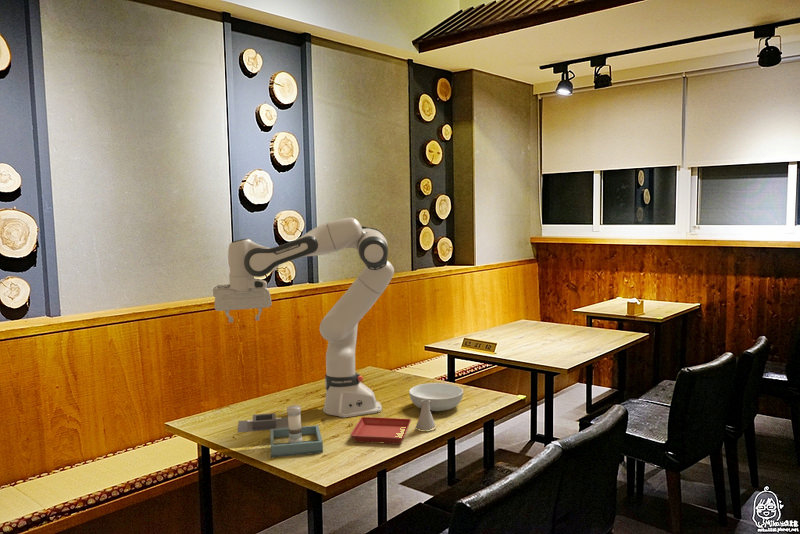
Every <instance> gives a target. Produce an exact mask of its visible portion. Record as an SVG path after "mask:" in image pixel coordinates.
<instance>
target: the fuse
mask: <svg viewBox="0 0 800 534" xmlns="http://www.w3.org/2000/svg"><path fill="white" fill-rule="evenodd" d="M286 412H287V413H286V414H287V417H288V425H289V436H288V443H289V444H293V443H302V441H303V435H301V427H302V417H301V416H302V415H301V414H302V406H301V405H296V404H295V405H289V406H287V408H286Z"/></svg>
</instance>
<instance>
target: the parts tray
mask: <svg viewBox="0 0 800 534" xmlns="http://www.w3.org/2000/svg"><path fill="white" fill-rule="evenodd" d="M269 431H270V432H269V433H270V434H269V435H270V458H271V459H272V457H273V458H283V457H292V456H293V457H294V456H301V455H302V456H303V455H314V454H323V453H324V449H323V448H324V444H323V439H322V434H321V430H320V426H319V425H317V424H315V425H305V426H304V425H303V426H301V435H302V436H305V435H306V436H307V435H315V437H316V439H315V440H313V439H312V440H306V441H305V440H302V443H293V444H289V442H282V443H279V442H278V443H275V438H284V437H289V428H280V429H270V430H269Z"/></svg>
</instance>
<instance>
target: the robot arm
mask: <svg viewBox="0 0 800 534" xmlns="http://www.w3.org/2000/svg"><path fill="white" fill-rule="evenodd" d="M345 249H356V250H357V252H358V256H359V258H360V259H361V261H362V263H363V264H364V265H365V266H364V267H363V270H362V271H361V272H360V273H359V275H358V276H357V277H356V279H354V281H353V282H352V284H351V285H349V287H348V289H347V290H346V291H345V293H344V294H343V295H342V296H341V297H340V298H339V299H338V300H337V301H336V302H335V304H334V305H332V308H331V309H329V311H328V312H327V313H326V314H325V316H324V317H323V318H322V320H321V321H320V324H319V332H320V335H321V338H323V339H324V340H326V341H328V342H327V343H328V344H327V349H326V353H325V367H326V373H325V375H324V376H325V378H324V386H325V400H324V405H323V408H322V413H325V414H327V415H330V416H335V417H336V416H337V417H340V418H350V417H351V418H352V417H356V416H364V415H371V414H376V413H377V412H378V413H380V411H381V412H382V410H383V408H382V407H383V406H382V404H381V402H380V401H378V400H377V399H376V396H375V392H374V391H373V390H372V389H371V388H370V387H368V386H367V385H365V384H364V383H362V382H363V381H364V377H363V376H362V375H361V374H360V373H359V372H356V347H357V338H358V328H359V327H358V326H359V323H360V321H361V320H362V319H363V318H364V316H365V315H366V314H368V312H369V311H370V310H371V308H372V307H373V306H374V305H375V303H376V302H377V301H378V300H379V298H380V297H381V296H382V294H383V293H384V292H385V290H386V288H387V287H388V286H389V284H390V283H391V280H392V279H393V277H394V274H395V268H394V266H393V265H392V263H391V262H390V261H389V260H388V255H389V246H388V241H387V239H386V236H385V235H384V234H383V232H382V231H381V230H379V229H377V228H373V227H367V226H362V225H361V223H360V221H358V220H357V219H356V218H354V217H345V218H340V219H335V220H332V221H328V222H326V223H323V224H320V225H318V226H316V227H314V228H312V229H311V230H309V231H307V232H306V233H305V234H303V235H302V236H300V237H299V238H296V239H294V240H292V241H290V242H289V241H288V242H286V243H284V244H281V245H277V246H275V247H268V246H266V245H265V246H264V245H261V244H258V243H256V242H255V241H253V240H251V239H250V238H243V239H237V240H234V241H231V242H230V244H229V245H228V250H227V251H228V252H227V259H228V264H227V265H228V268H229V274H228V275H229V276H228V278H229V284H218V285H216V286H214V287H213V288H212V295H213V297H214V310H215V311H217V312H218V311H220V312H223V311H224V313H225V315H226V316H227V318H228V323H234V316H231V315H230V311H235V310H236V311H237V310H249V309H257V311H258V313H257V314H256V315H255V318H254V319H255V321H260V316H261V314H262V312H263V308H271V306H272V298H271V293H270V290H269V288H268V282H267V281H266V280H264V279H259V278H262V277H264V276H267V275H268V274H270V273H273V272H274V271H275V270H276V269H277V268H278V267H279V265H283V264H285V263H288V262H291V261H293V260H296V259H300V258H304V257H317V256H324V255H325V256H326V255H331V254H333V253H337V252H339V251H342V250H345ZM378 413H377V414H378Z"/></svg>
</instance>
